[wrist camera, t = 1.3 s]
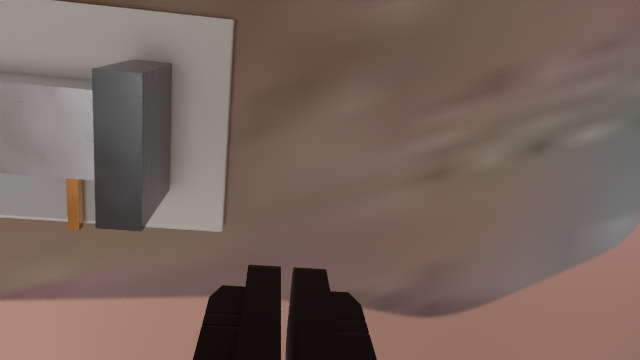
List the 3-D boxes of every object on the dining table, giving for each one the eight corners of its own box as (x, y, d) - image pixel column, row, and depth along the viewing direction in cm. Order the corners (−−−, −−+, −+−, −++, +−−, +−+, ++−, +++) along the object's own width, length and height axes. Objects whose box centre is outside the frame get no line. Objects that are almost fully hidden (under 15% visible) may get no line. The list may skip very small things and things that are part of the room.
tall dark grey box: (-95, 36, 25) (-205, 40, 20) (172, 63, 27) (142, 73, 21) (-73, 215, 28) (-164, 264, 22) (168, 231, 29) (141, 281, 24)
